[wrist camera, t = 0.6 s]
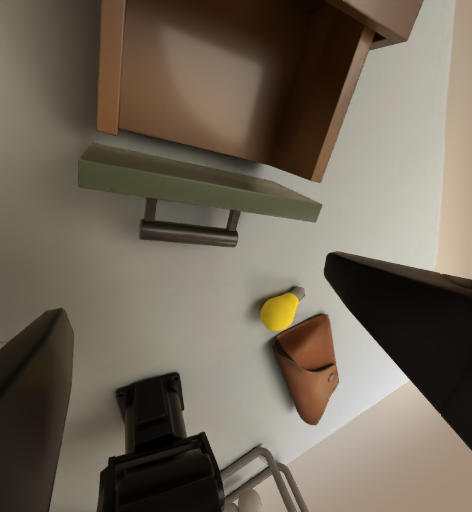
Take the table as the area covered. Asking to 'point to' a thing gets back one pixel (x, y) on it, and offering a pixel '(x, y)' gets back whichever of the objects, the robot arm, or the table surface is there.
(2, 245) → the table surface
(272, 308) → the light bulb
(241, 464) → the newton's cradle
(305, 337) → the sunglasses case
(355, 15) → the cabinet
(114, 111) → the drawer
